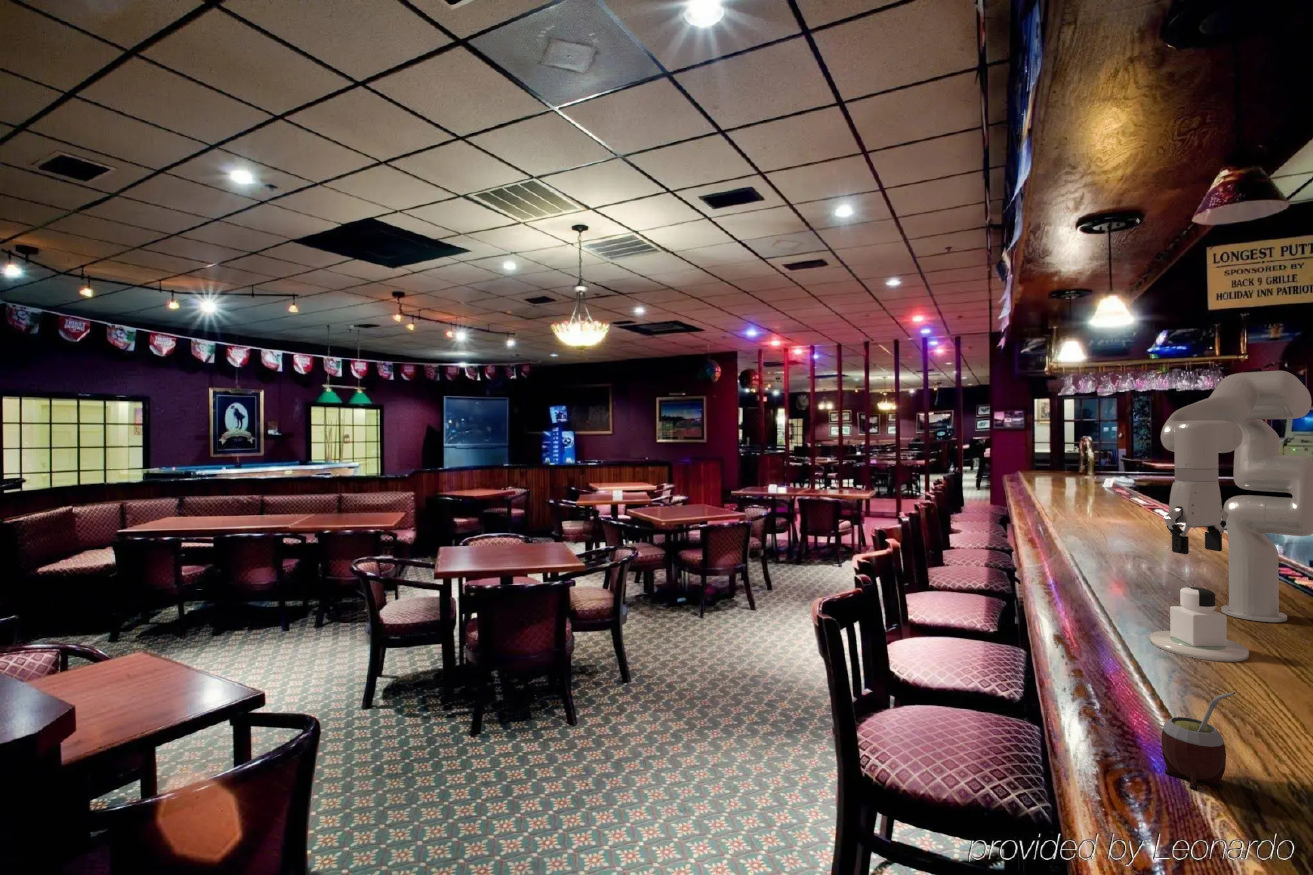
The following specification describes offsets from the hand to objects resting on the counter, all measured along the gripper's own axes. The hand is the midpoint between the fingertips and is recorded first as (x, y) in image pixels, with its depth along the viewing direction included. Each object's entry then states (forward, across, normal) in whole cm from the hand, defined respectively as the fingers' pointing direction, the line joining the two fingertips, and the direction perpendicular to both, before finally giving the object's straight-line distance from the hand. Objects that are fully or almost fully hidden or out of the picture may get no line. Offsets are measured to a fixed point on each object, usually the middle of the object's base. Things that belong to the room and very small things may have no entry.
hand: (1196, 551), depth 142 cm
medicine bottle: (+21, 0, 0) cm, 21 cm away
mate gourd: (+22, +57, +41) cm, 74 cm away
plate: (+22, 0, 0) cm, 22 cm away
